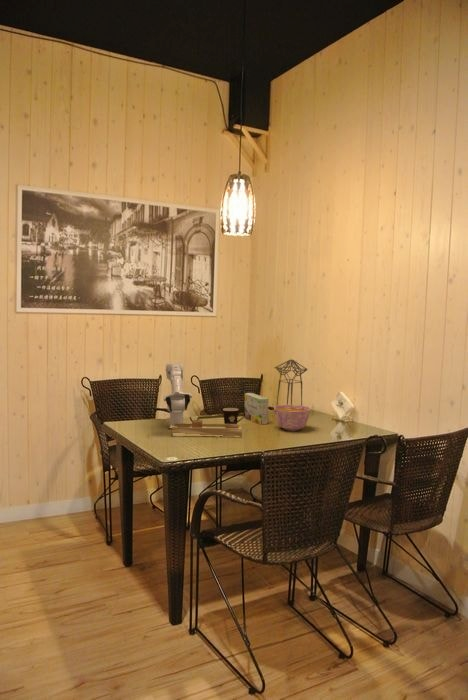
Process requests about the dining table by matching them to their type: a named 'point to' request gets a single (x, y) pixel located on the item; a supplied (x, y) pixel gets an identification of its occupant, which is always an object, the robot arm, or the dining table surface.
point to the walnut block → (197, 424)
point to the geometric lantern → (288, 376)
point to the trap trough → (208, 429)
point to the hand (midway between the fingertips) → (178, 409)
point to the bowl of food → (292, 416)
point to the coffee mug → (231, 415)
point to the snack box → (256, 408)
